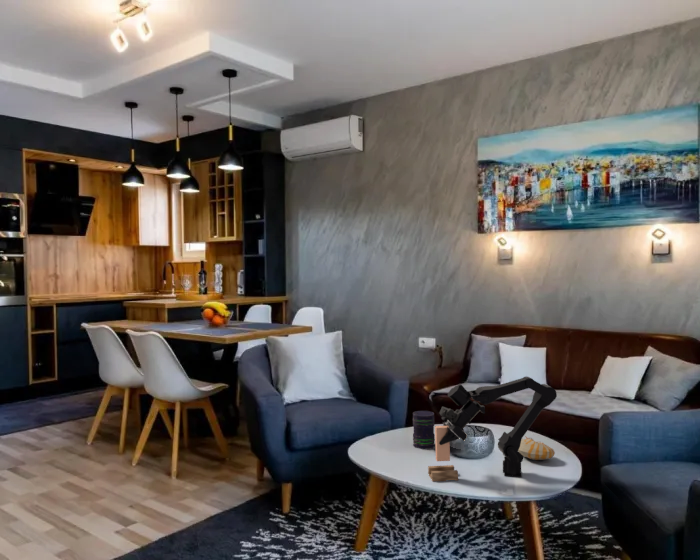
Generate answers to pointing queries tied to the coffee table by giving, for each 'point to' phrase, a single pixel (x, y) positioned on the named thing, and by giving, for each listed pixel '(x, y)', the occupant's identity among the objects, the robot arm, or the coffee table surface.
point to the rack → (442, 473)
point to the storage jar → (423, 429)
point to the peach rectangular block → (444, 449)
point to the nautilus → (535, 450)
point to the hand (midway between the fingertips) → (439, 443)
